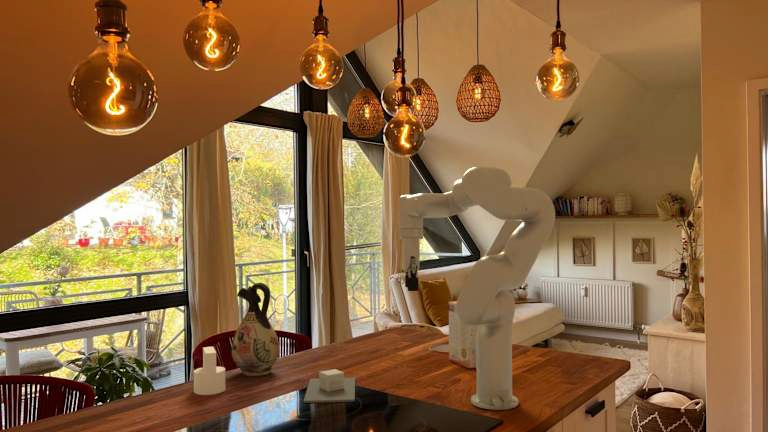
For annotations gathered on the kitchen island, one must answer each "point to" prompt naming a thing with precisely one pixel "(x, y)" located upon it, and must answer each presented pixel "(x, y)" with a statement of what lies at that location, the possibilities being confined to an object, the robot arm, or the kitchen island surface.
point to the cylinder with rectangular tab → (209, 375)
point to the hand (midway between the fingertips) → (411, 288)
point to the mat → (320, 395)
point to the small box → (331, 380)
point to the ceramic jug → (255, 335)
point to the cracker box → (461, 340)
